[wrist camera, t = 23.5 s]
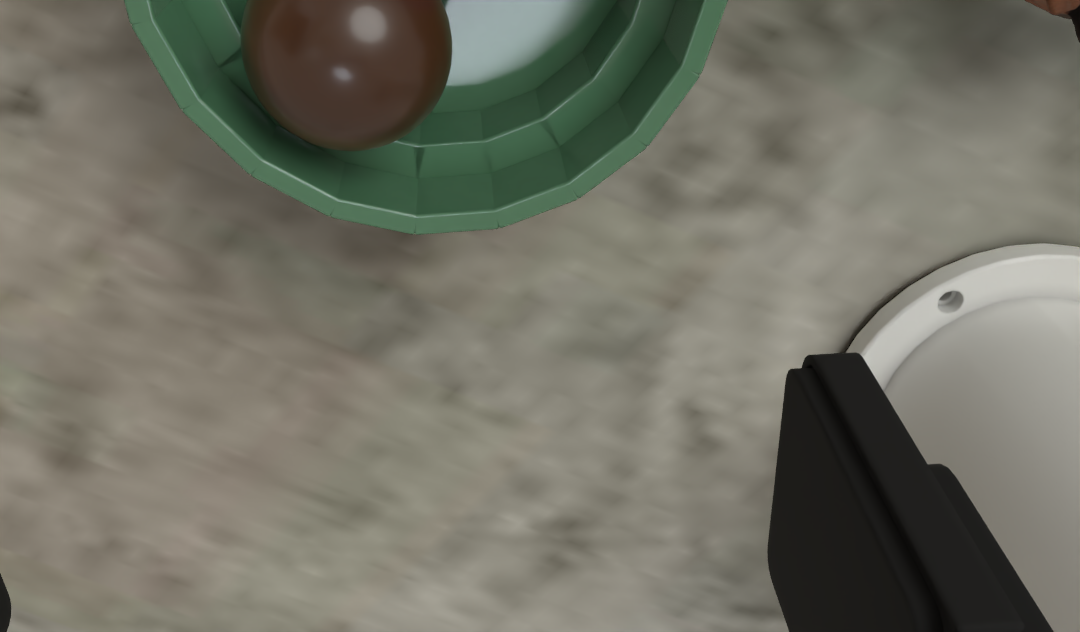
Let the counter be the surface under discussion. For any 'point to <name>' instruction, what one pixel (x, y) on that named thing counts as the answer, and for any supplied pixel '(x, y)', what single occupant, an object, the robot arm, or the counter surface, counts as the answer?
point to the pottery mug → (1062, 10)
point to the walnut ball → (347, 66)
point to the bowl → (458, 107)
